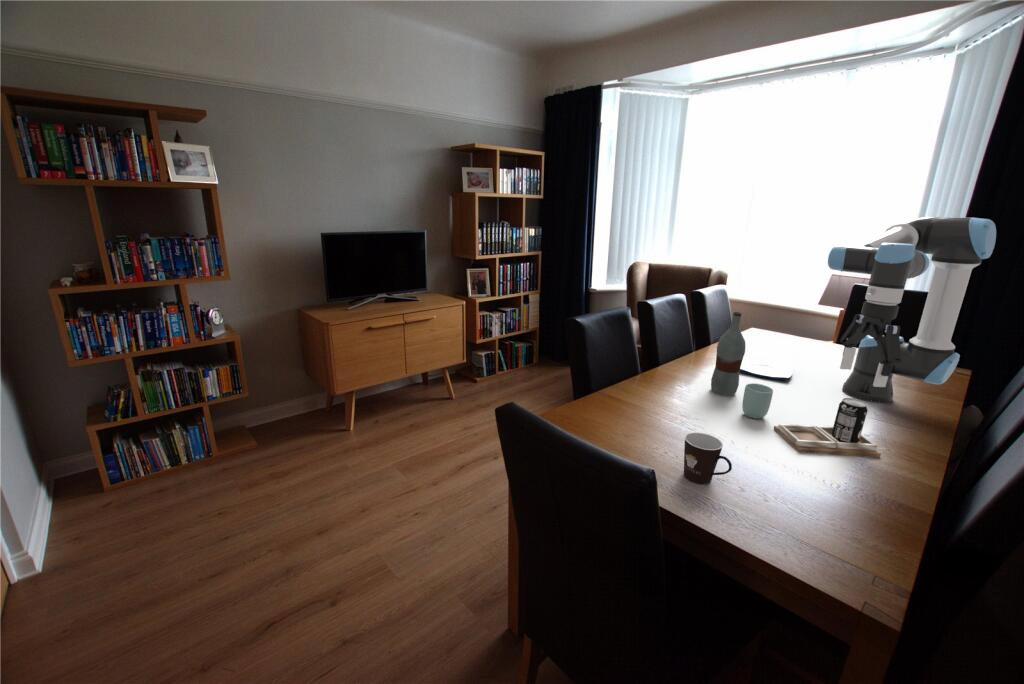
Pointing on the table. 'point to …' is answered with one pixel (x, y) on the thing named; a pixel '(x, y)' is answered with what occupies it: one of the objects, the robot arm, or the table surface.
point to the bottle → (729, 359)
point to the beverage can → (849, 420)
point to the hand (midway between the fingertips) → (861, 377)
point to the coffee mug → (702, 457)
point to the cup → (756, 400)
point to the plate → (766, 369)
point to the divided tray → (824, 441)
